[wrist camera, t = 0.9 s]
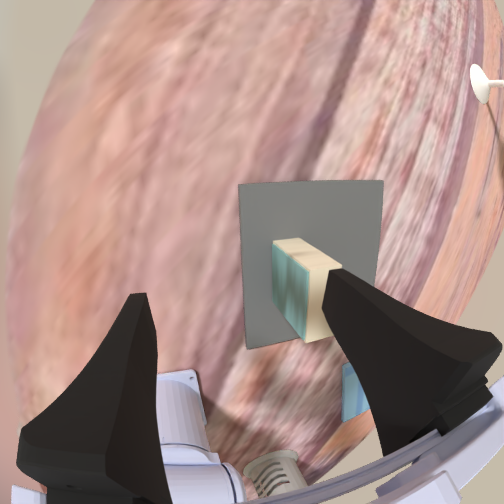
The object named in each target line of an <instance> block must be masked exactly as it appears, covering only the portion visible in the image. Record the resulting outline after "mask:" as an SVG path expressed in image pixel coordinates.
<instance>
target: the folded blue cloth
mask: <svg viewBox="0 0 504 504" xmlns="http://www.w3.org/2000/svg"><path fill="white" fill-rule="evenodd" d="M368 409H370V407H369V404H368V401H367V399H366V396H365V393H364V391H363V388H362V386H361V384H360V381H359V379H358V377H357V375H356V373H355V371H354V369H353V367H352V365H351V364H350V362H348V363H346V364H344V365H342V416H341V420H342V422H343V423H344V422H346V421H348V420H350V419H352V418H354V417H356V416H357V415H359V414H361V413H363V412H365V411H367V410H368Z"/></svg>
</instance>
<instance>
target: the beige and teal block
mask: <svg viewBox="0 0 504 504" xmlns="http://www.w3.org/2000/svg"><path fill="white" fill-rule="evenodd" d="M339 268H342V264H340V263H338V262H337V261H335V260H334V259H332V258H331V257H329V256H327V255H326V254H324V253H323V252H321V251H320V250H318V249H316V248H315V247H313V246H312V245H310V244H308V243H307V242H305V241H304V240H302V239H300V238H292V239H284V240H275V241H273V244H272V301H273V303H274V304H275V305H276V307H277V308H278V309H279V310H280V312H281V313H282V314H283V316H284V317H285V318H286V319H287V321H288V322H289V323H290V324H291V326H292V327H293V328H294V330H295V331H296V332H297V333H298V335H299V336H300V337H301V338H302V340H304V341H305V343H309V342H312V341H316V340H320V339H323V338H327V337H330V336H334V335H333V333H332V331H331V329H330V328H329V325H328V323H327V321H326V318H325V316H324V313H323V311H322V308H321V307H322V302H323V298H324V293H325V288H326V283H327V278H328V273H329V270H332V269H339Z"/></svg>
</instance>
